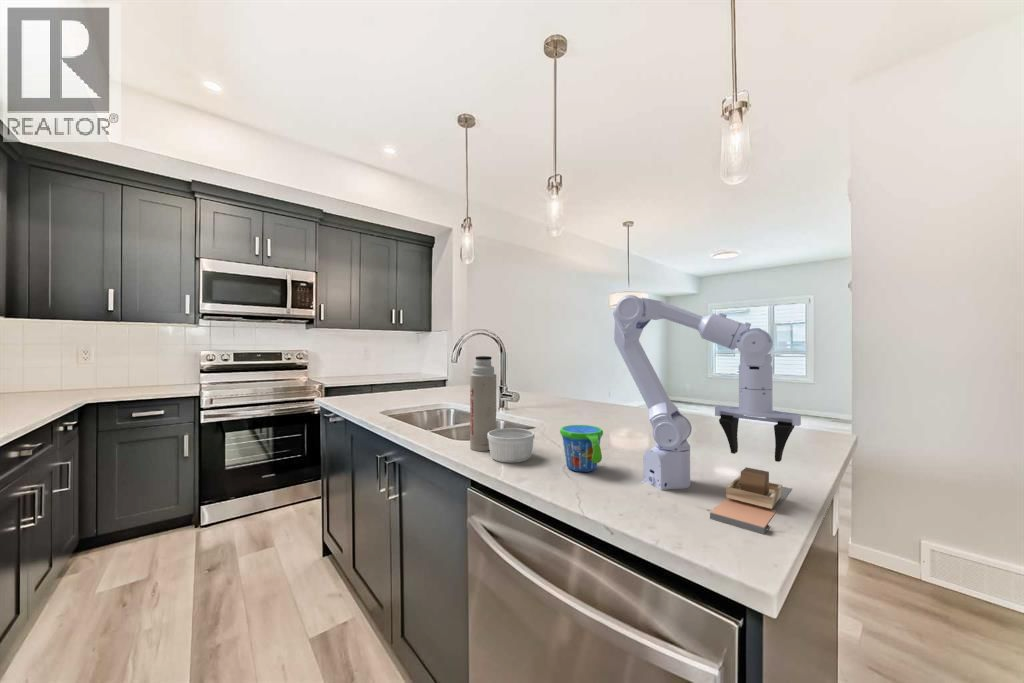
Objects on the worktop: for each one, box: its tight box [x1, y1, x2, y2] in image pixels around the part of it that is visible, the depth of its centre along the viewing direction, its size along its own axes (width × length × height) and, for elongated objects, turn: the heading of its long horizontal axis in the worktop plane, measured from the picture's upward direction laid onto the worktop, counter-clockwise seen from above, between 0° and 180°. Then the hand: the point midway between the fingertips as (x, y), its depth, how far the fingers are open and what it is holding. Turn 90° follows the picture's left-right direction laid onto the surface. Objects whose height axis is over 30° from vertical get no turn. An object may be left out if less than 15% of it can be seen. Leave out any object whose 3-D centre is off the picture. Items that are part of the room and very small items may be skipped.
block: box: [740, 466, 770, 496], centre depth 78 cm, size 4×4×4 cm
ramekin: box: [487, 427, 535, 464], centre depth 110 cm, size 13×13×7 cm
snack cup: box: [559, 424, 604, 473], centre depth 100 cm, size 16×10×10 cm
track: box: [709, 485, 793, 535], centre depth 78 cm, size 25×8×1 cm, turn 135°
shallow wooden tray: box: [725, 475, 783, 509], centre depth 78 cm, size 9×8×2 cm
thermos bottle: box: [469, 355, 497, 452], centre depth 120 cm, size 8×8×28 cm
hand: (755, 456), depth 78 cm, fingers open, 7 cm apart
